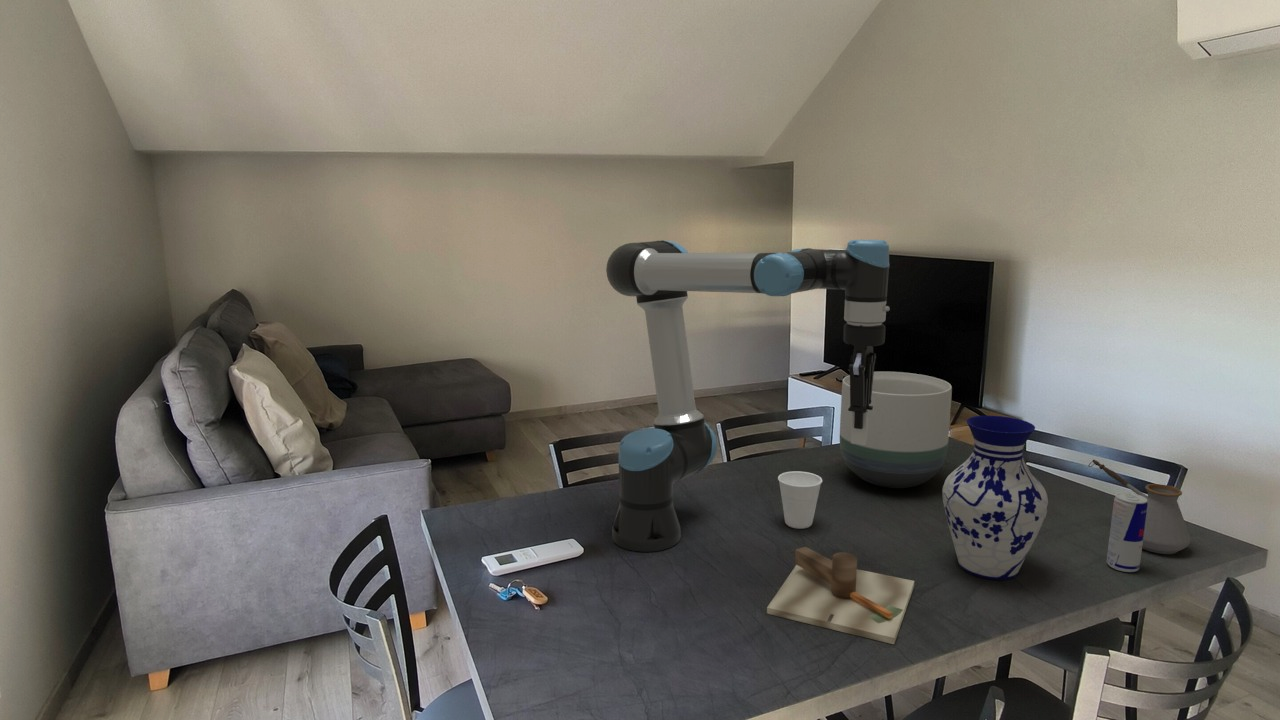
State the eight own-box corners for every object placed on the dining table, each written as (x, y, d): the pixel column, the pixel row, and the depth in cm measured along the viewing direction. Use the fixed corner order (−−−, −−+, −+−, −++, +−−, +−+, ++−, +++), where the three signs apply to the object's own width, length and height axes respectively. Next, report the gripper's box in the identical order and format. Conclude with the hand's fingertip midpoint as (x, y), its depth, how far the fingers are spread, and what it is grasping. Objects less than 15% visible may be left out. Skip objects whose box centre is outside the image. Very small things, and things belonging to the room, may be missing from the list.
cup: (821, 534, 170) (823, 487, 167) (775, 531, 172) (777, 484, 169) (820, 517, 179) (821, 472, 177) (777, 514, 181) (778, 469, 179)
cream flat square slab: (766, 613, 137) (767, 607, 137) (801, 563, 156) (801, 557, 156) (894, 644, 127) (894, 637, 127) (914, 586, 146) (914, 580, 146)
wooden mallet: (899, 614, 133) (901, 578, 132) (881, 622, 131) (883, 585, 130) (808, 564, 152) (809, 532, 151) (791, 570, 150) (792, 537, 148)
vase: (1035, 600, 141) (1051, 444, 135) (928, 574, 151) (938, 428, 145) (1044, 559, 157) (1059, 418, 151) (947, 539, 166) (957, 406, 161)
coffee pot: (1200, 550, 160) (1210, 482, 157) (1170, 563, 155) (1180, 493, 152) (1098, 515, 178) (1105, 454, 175) (1068, 525, 173) (1075, 462, 170)
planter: (832, 463, 216) (836, 370, 211) (931, 467, 212) (938, 372, 207) (844, 499, 190) (849, 393, 185) (956, 503, 186) (965, 396, 181)
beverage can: (1128, 576, 149) (1137, 504, 146) (1100, 564, 154) (1108, 494, 151) (1145, 569, 152) (1154, 498, 149) (1116, 558, 157) (1125, 489, 154)
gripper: (878, 329, 136) (872, 455, 141) (891, 319, 147) (885, 436, 152) (836, 326, 139) (831, 450, 144) (852, 317, 151) (847, 432, 155)
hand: (858, 443), depth 148 cm, fingers closed
